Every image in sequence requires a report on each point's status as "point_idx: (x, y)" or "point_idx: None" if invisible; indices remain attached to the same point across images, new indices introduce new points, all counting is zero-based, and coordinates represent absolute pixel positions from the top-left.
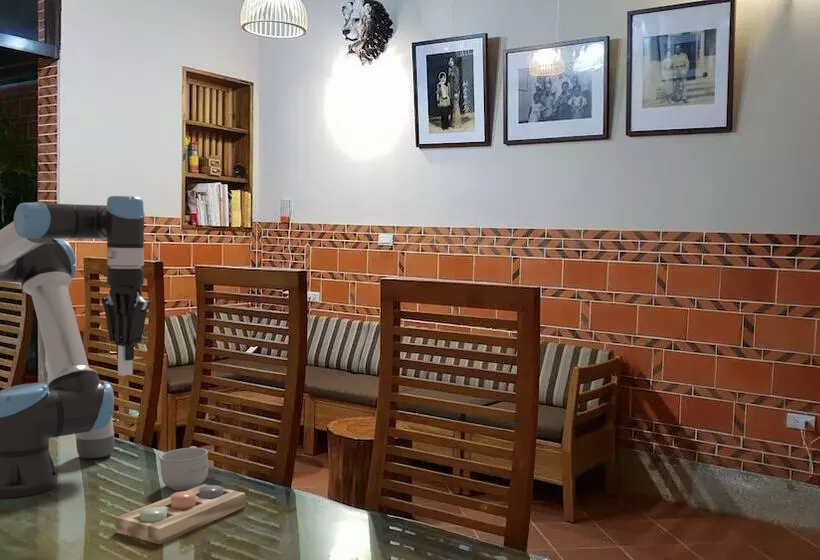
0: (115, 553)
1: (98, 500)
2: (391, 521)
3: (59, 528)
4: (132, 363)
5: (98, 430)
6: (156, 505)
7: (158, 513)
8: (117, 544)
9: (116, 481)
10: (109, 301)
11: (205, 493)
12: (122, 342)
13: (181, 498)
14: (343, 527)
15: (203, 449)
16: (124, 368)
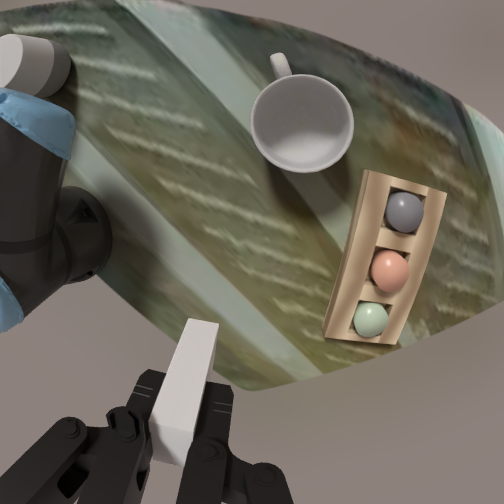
0: (355, 364)
1: (208, 236)
2: None
3: (244, 336)
4: (211, 355)
5: (37, 76)
6: (352, 284)
7: (381, 325)
8: (344, 349)
9: (165, 148)
10: None
11: (406, 232)
12: (148, 457)
13: (396, 287)
14: None
15: (324, 82)
16: (209, 377)
